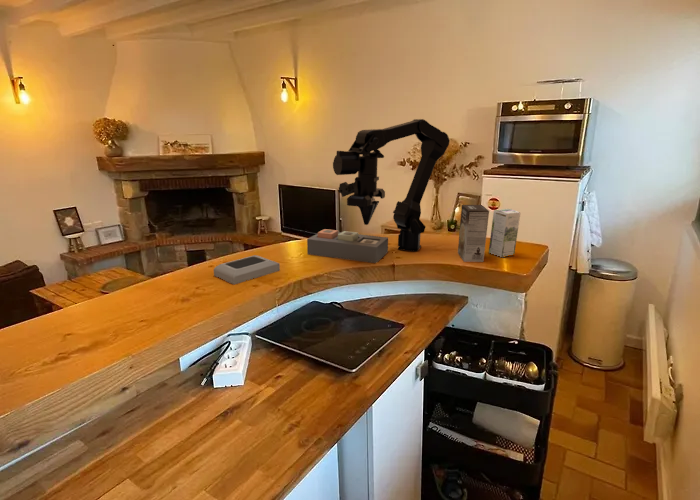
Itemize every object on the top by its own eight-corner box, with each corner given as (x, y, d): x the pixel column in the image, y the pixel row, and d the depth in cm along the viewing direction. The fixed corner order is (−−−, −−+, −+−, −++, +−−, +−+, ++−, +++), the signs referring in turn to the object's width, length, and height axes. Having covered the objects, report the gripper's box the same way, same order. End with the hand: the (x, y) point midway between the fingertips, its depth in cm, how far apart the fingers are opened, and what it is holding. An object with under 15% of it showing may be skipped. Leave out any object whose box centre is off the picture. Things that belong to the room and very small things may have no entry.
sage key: (358, 241, 135) (358, 232, 134) (352, 245, 131) (352, 235, 130) (343, 240, 137) (343, 230, 136) (337, 243, 132) (337, 234, 132)
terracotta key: (338, 239, 138) (338, 230, 137) (332, 243, 133) (332, 233, 132) (324, 237, 139) (324, 228, 138) (317, 241, 135) (317, 232, 134)
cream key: (378, 249, 133) (378, 240, 132) (373, 254, 129) (373, 244, 128) (363, 248, 135) (364, 238, 134) (358, 252, 131) (358, 242, 130)
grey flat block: (279, 259, 118) (232, 272, 107) (279, 271, 119) (233, 286, 108) (258, 252, 124) (213, 264, 113) (259, 264, 125) (214, 277, 114)
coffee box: (456, 253, 136) (461, 204, 132) (476, 253, 136) (481, 204, 131) (463, 262, 127) (468, 210, 123) (484, 262, 127) (490, 210, 123)
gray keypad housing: (387, 252, 136) (388, 237, 135) (376, 263, 125) (376, 247, 124) (323, 244, 144) (323, 230, 143) (307, 254, 134) (307, 239, 132)
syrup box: (501, 251, 139) (506, 207, 134) (515, 256, 133) (520, 211, 129) (488, 253, 136) (492, 209, 132) (501, 258, 131) (507, 212, 127)
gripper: (353, 169, 136) (352, 216, 141) (330, 175, 120) (330, 228, 124) (386, 171, 133) (384, 219, 137) (367, 177, 116) (365, 232, 120)
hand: (366, 224), depth 130 cm, fingers closed
